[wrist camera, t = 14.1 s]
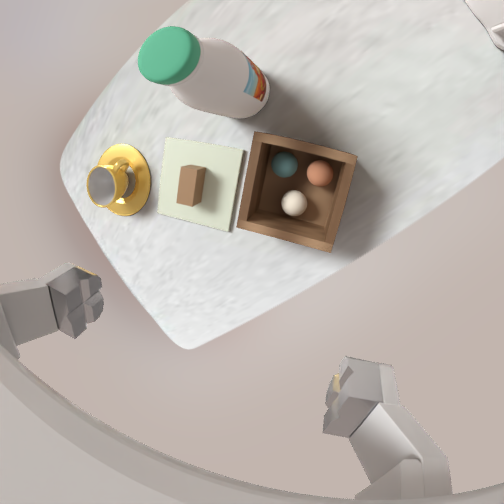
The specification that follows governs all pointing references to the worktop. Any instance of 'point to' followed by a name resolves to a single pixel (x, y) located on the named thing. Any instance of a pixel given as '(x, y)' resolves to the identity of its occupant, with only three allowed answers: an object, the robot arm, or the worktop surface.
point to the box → (275, 187)
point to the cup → (119, 180)
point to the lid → (199, 182)
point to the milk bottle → (204, 72)
